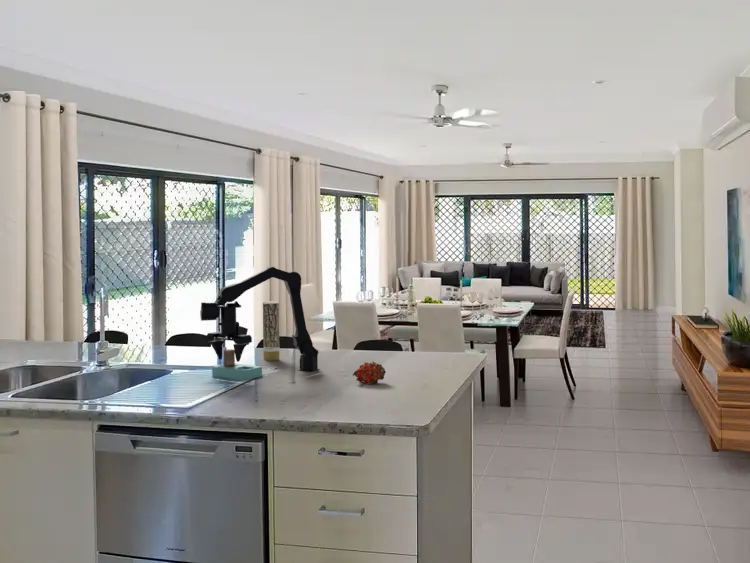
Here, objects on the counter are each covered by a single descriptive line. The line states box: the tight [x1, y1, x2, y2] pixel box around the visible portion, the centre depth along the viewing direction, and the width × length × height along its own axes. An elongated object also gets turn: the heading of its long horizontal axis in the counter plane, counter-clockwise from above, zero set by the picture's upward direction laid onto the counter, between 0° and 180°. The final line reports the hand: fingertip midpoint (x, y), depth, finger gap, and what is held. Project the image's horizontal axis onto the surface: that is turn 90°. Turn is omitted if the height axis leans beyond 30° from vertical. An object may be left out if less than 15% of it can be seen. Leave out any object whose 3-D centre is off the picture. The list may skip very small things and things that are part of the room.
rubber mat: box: [262, 367, 282, 376], centre depth 292 cm, size 10×10×1 cm
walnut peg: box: [223, 348, 236, 367], centre depth 285 cm, size 4×4×10 cm
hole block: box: [211, 362, 263, 381], centre depth 283 cm, size 16×10×4 cm, turn 57°
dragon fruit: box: [352, 361, 387, 385], centre depth 270 cm, size 8×8×12 cm
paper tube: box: [262, 300, 280, 362], centre depth 321 cm, size 7×7×25 cm
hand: (229, 360), depth 285 cm, fingers open, 9 cm apart
